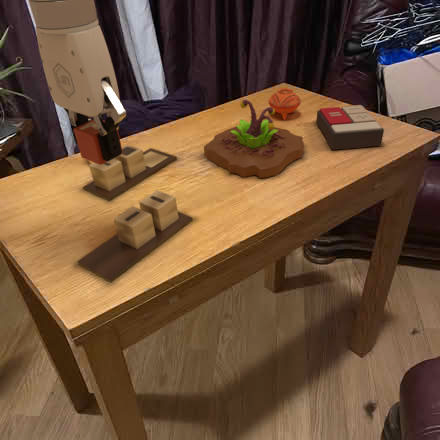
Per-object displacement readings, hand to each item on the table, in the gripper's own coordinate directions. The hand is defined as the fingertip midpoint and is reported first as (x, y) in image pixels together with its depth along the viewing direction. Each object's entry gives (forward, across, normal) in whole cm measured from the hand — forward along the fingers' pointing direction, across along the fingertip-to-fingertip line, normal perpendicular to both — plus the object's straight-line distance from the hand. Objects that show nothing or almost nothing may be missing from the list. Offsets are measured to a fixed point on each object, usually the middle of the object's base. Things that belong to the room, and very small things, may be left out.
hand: (101, 151), depth 65 cm
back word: (+15, -14, +16) cm, 26 cm away
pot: (+15, -3, +58) cm, 60 cm away
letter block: (+1, 0, 0) cm, 1 cm away
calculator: (+15, +15, +56) cm, 60 cm away
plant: (+15, +2, +37) cm, 40 cm away
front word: (+15, +4, 0) cm, 16 cm away
